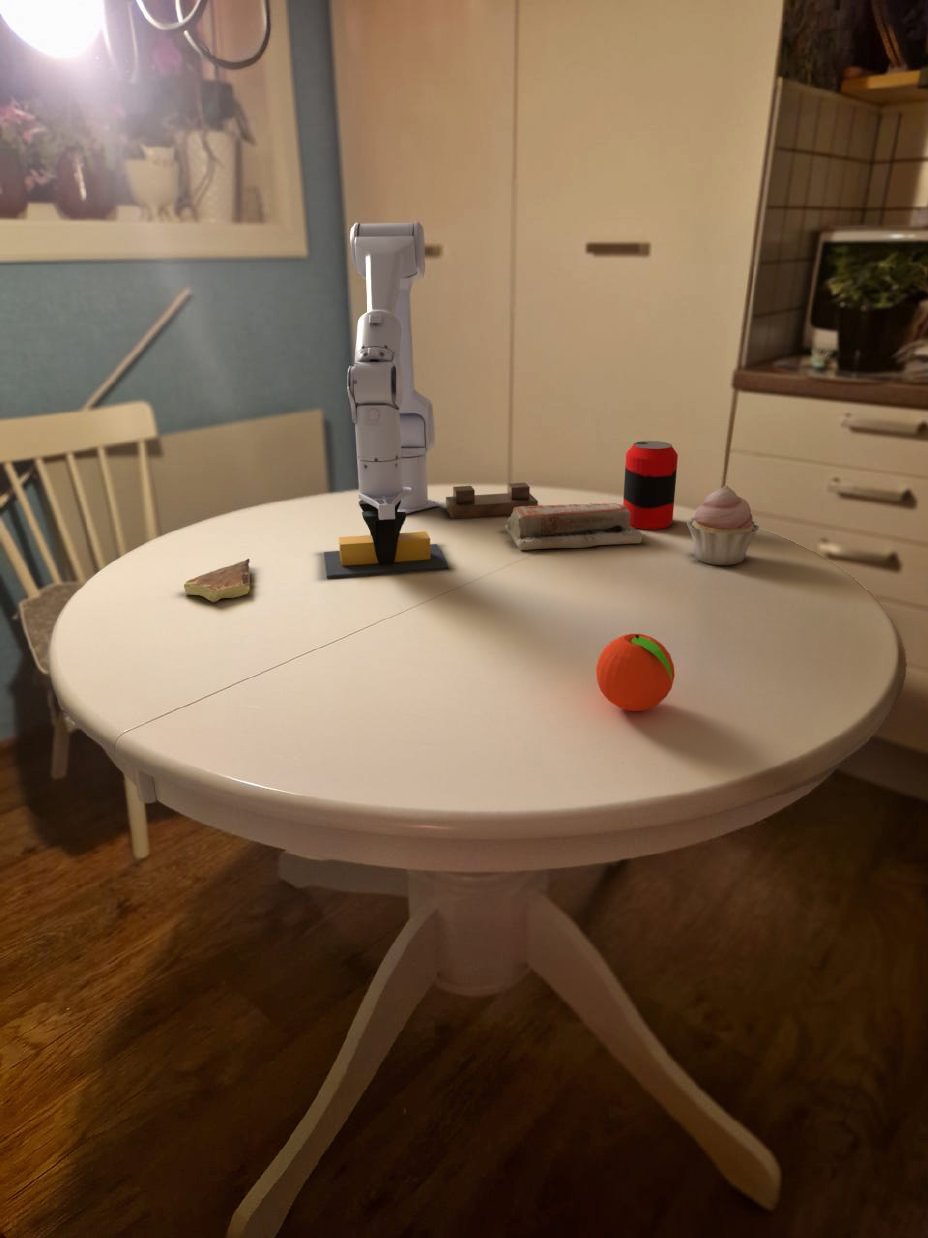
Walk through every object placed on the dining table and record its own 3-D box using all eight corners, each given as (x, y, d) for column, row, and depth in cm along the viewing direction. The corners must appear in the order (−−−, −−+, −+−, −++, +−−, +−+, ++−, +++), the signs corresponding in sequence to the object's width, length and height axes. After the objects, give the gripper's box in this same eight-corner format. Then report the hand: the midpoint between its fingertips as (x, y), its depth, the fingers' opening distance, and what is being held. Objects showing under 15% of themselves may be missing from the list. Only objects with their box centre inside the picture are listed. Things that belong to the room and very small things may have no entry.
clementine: (696, 716, 77) (704, 643, 74) (639, 738, 74) (644, 663, 71) (634, 682, 83) (639, 614, 81) (578, 701, 80) (581, 631, 77)
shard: (249, 569, 115) (248, 556, 115) (289, 580, 111) (288, 566, 111) (182, 593, 107) (180, 579, 107) (223, 606, 103) (221, 592, 103)
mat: (326, 578, 112) (326, 575, 112) (324, 554, 121) (323, 551, 121) (448, 569, 114) (448, 566, 114) (437, 546, 123) (437, 543, 123)
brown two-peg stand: (452, 518, 136) (451, 493, 135) (445, 508, 142) (445, 484, 140) (537, 512, 139) (538, 488, 137) (528, 503, 144) (528, 479, 143)
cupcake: (753, 550, 120) (762, 479, 116) (756, 572, 111) (765, 496, 108) (684, 545, 122) (690, 475, 118) (682, 567, 114) (688, 492, 110)
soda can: (640, 513, 138) (645, 437, 133) (681, 522, 133) (688, 444, 128) (612, 523, 133) (616, 445, 128) (654, 533, 128) (660, 452, 123)
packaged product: (519, 518, 118) (505, 500, 128) (518, 552, 120) (505, 532, 129) (645, 511, 121) (622, 494, 130) (643, 544, 123) (620, 525, 132)
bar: (341, 566, 115) (339, 544, 114) (340, 558, 118) (338, 536, 117) (430, 559, 117) (430, 538, 116) (427, 551, 120) (426, 531, 119)
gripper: (417, 467, 106) (421, 572, 111) (403, 444, 119) (407, 538, 124) (359, 470, 105) (366, 576, 110) (352, 447, 118) (358, 542, 123)
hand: (384, 556), depth 117 cm, fingers open, 4 cm apart
